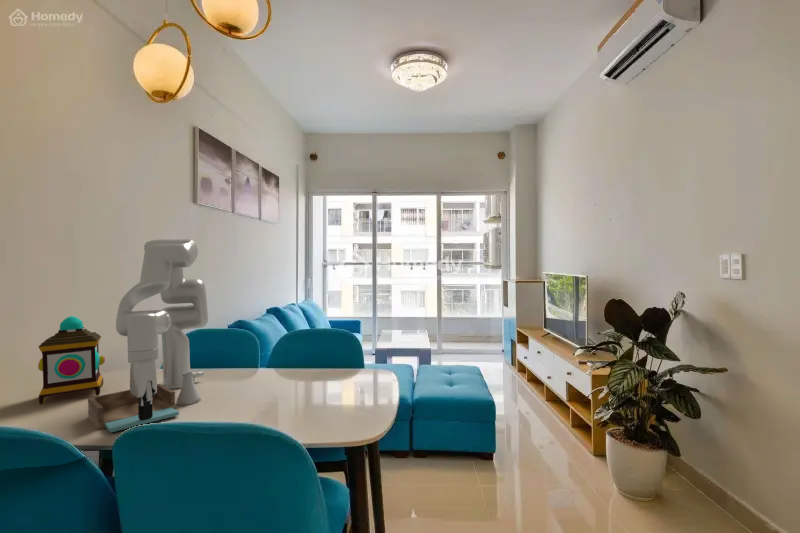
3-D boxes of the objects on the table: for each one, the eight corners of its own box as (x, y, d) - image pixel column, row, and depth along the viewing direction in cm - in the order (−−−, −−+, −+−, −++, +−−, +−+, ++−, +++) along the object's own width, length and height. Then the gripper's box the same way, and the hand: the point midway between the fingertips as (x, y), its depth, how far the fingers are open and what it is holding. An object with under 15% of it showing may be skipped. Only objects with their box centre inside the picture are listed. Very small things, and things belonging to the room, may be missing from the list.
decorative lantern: (103, 395, 151) (101, 315, 151) (33, 407, 140) (30, 320, 140) (107, 384, 168) (105, 312, 168) (44, 394, 157) (42, 316, 157)
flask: (190, 406, 134) (189, 375, 134) (171, 405, 136) (170, 375, 136) (205, 399, 141) (204, 370, 141) (187, 398, 143) (186, 370, 143)
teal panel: (170, 407, 129) (178, 411, 123) (170, 410, 129) (178, 414, 123) (104, 423, 116) (110, 428, 111) (104, 426, 116) (110, 432, 111)
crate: (160, 400, 141) (159, 383, 141) (175, 410, 130) (174, 391, 130) (88, 417, 127) (87, 398, 127) (98, 429, 116) (98, 408, 116)
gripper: (122, 354, 121) (124, 416, 121) (135, 361, 110) (137, 428, 110) (150, 350, 126) (152, 409, 126) (165, 356, 116) (168, 420, 116)
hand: (145, 418), depth 118 cm, fingers closed
